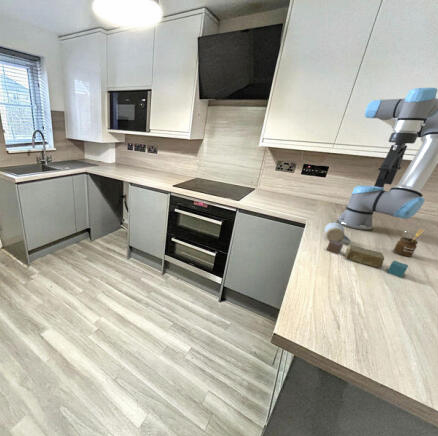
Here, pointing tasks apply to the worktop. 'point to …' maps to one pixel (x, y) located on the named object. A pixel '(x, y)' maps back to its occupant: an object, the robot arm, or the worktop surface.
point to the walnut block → (334, 246)
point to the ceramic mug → (336, 232)
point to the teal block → (397, 268)
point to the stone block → (365, 256)
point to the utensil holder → (407, 245)
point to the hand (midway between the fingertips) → (382, 185)
